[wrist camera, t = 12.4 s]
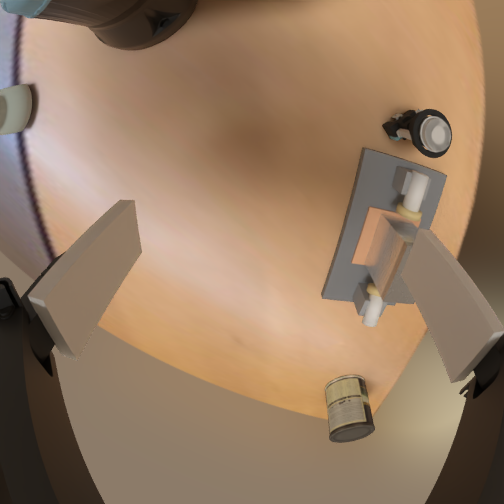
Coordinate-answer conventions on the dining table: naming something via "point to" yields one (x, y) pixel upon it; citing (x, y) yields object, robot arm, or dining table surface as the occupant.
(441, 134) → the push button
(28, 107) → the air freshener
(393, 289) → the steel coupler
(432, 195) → the coupling stand
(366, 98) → the dining table surface
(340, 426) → the coffee can
